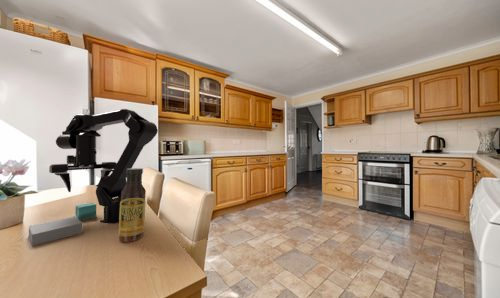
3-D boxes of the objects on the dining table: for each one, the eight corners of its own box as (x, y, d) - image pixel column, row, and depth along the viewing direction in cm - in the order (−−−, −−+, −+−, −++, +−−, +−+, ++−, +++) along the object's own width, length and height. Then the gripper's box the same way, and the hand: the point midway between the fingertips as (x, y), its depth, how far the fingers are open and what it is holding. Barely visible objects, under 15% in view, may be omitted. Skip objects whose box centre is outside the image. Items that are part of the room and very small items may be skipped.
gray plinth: (82, 232, 57) (82, 222, 57) (32, 246, 49) (32, 234, 49) (74, 225, 63) (74, 216, 63) (28, 236, 55) (28, 225, 55)
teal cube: (96, 217, 71) (96, 204, 71) (78, 221, 67) (78, 207, 67) (92, 214, 74) (92, 202, 74) (75, 218, 70) (75, 205, 70)
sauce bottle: (116, 245, 49) (116, 170, 49) (120, 236, 55) (120, 168, 55) (145, 239, 52) (145, 168, 52) (146, 231, 58) (146, 167, 58)
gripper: (108, 149, 83) (108, 184, 83) (47, 148, 68) (46, 191, 68) (117, 148, 76) (118, 186, 76) (52, 148, 61) (51, 195, 61)
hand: (86, 189), depth 70 cm, fingers open, 9 cm apart
